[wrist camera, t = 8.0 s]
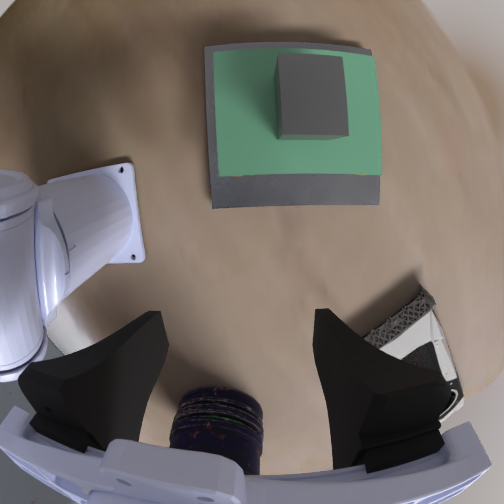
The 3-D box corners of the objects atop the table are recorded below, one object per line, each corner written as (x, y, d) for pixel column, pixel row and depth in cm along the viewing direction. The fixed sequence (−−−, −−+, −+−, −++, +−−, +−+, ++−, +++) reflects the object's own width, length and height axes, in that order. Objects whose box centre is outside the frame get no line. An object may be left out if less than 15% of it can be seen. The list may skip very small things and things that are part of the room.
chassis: (214, 206, 20) (208, 213, 18) (206, 51, 16) (199, 39, 14) (374, 202, 19) (387, 209, 17) (366, 53, 15) (378, 43, 13)
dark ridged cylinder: (276, 425, 28) (278, 534, 14) (206, 437, 30) (189, 533, 16) (240, 376, 25) (227, 516, 11) (162, 393, 27) (124, 504, 13)
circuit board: (221, 175, 17) (205, 183, 12) (215, 57, 14) (199, 25, 9) (375, 174, 16) (413, 182, 12) (368, 60, 14) (400, 35, 9)
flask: (20, 327, 26) (-80, 443, 2) (27, 311, 24) (-88, 439, 1) (111, 413, 30) (53, 552, 6) (126, 405, 29) (64, 562, 5)
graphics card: (435, 298, 19) (469, 405, 25) (417, 281, 22) (460, 390, 28) (339, 367, 21) (413, 443, 27) (332, 344, 24) (407, 428, 30)
